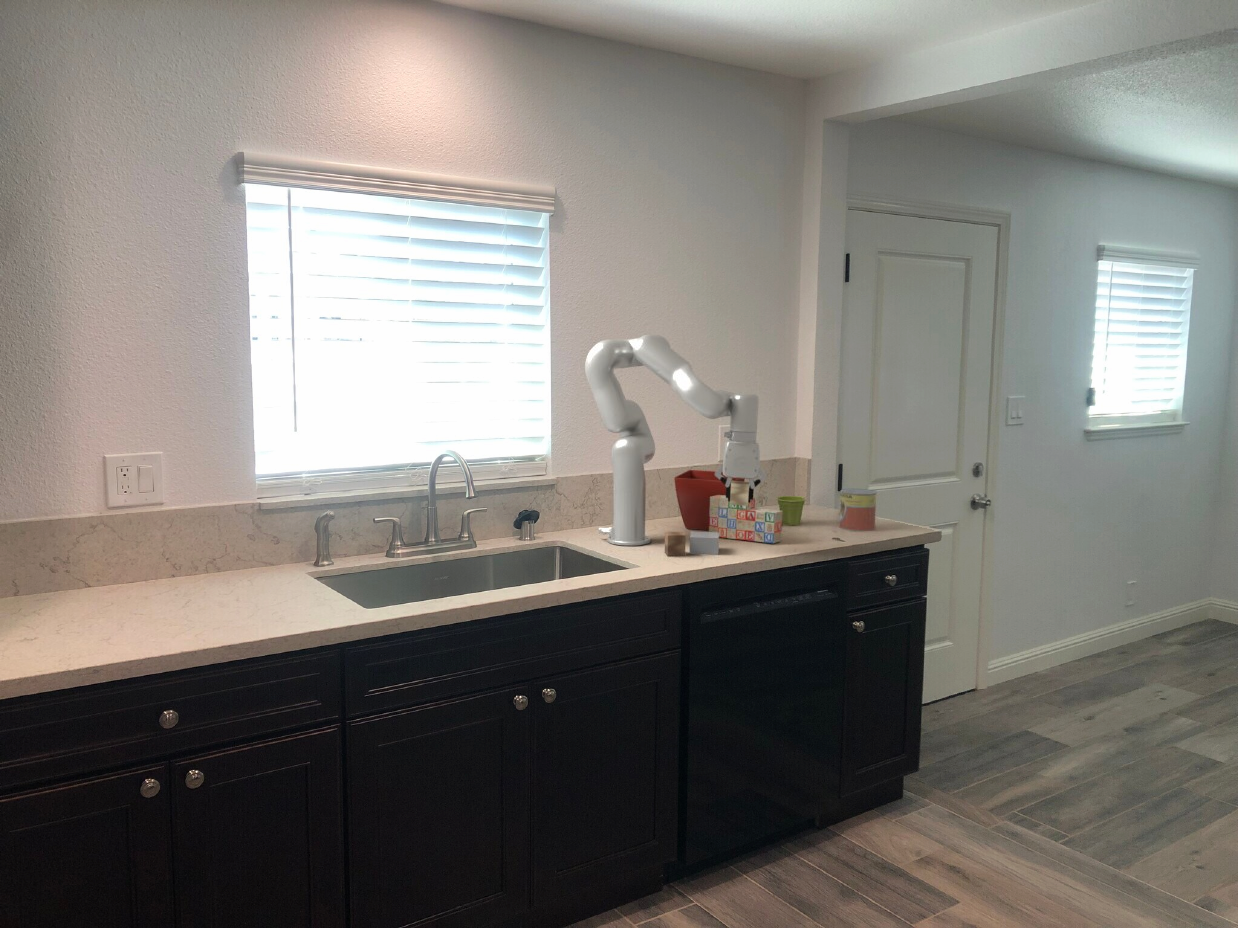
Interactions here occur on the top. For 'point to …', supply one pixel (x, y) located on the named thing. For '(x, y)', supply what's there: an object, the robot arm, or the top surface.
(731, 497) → the maple cube
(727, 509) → the stack of blocks
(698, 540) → the stone block
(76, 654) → the top surface
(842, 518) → the canned food
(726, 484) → the robot arm
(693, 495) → the plant pot
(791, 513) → the plant pot
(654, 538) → the top surface
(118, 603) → the top surface
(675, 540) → the walnut cube
